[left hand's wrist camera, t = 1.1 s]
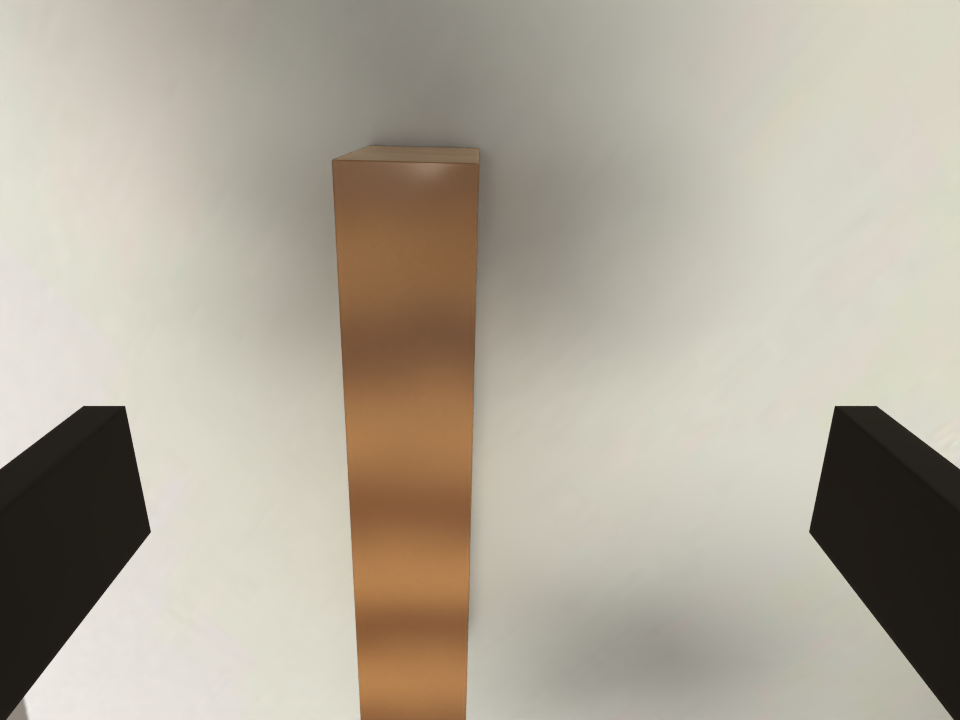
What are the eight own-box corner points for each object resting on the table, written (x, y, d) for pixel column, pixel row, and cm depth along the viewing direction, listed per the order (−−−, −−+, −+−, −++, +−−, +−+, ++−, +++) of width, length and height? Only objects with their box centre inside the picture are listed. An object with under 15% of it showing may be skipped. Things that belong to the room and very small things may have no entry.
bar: (368, 145, 31) (331, 159, 23) (479, 148, 31) (478, 163, 23) (384, 623, 41) (361, 744, 33) (468, 625, 41) (465, 746, 33)
